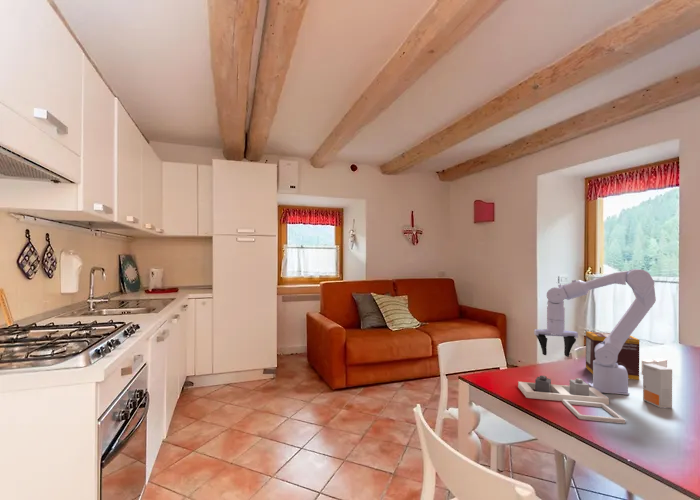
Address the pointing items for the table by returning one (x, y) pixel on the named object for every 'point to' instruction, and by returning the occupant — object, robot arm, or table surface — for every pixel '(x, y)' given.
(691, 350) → the table surface
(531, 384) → the twin square frames
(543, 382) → the plug
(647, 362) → the napkin holder
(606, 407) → the white square frame
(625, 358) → the supplement box
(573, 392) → the twin plug
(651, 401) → the skincare box
